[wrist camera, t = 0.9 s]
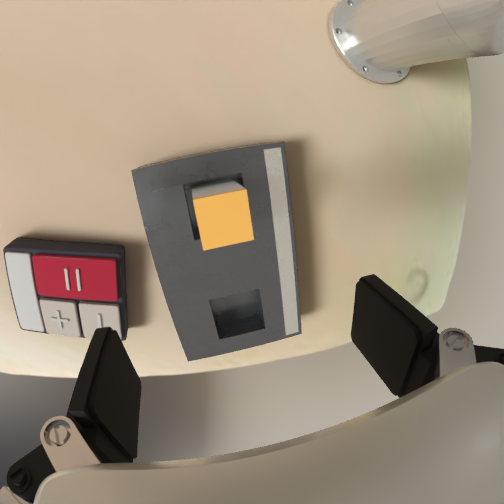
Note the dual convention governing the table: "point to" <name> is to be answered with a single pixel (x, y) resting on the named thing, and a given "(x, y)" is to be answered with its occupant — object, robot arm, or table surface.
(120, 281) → the calculator
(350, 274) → the table surface
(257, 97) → the table surface
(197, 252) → the port panel
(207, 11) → the table surface
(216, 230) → the plug
